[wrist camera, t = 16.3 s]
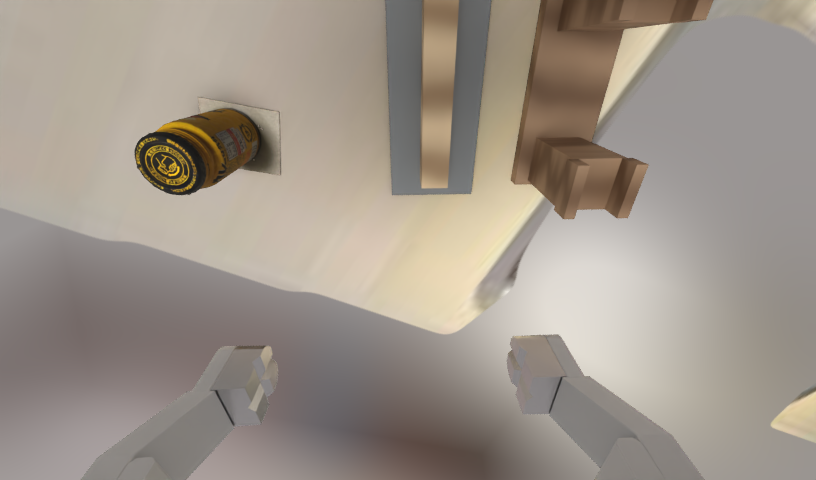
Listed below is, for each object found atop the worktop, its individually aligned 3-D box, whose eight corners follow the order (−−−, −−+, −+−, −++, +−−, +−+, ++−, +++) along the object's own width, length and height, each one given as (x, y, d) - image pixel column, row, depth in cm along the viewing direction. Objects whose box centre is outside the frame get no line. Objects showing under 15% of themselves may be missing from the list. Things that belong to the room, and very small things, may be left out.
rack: (547, -40, 28) (633, -95, 18) (633, -40, 29) (767, -95, 18) (510, 180, 39) (551, 224, 29) (573, 179, 39) (636, 222, 29)
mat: (383, -62, 27) (383, -65, 27) (496, -62, 28) (498, -65, 27) (392, 193, 40) (392, 195, 39) (470, 191, 40) (471, 193, 39)
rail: (422, -34, 28) (425, -43, 25) (455, -34, 28) (461, -43, 25) (419, 179, 38) (421, 188, 36) (444, 179, 38) (447, 188, 36)
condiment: (198, 96, 33) (109, 114, 23) (279, 111, 34) (228, 135, 24) (208, 162, 37) (134, 203, 27) (281, 174, 38) (237, 218, 28)
